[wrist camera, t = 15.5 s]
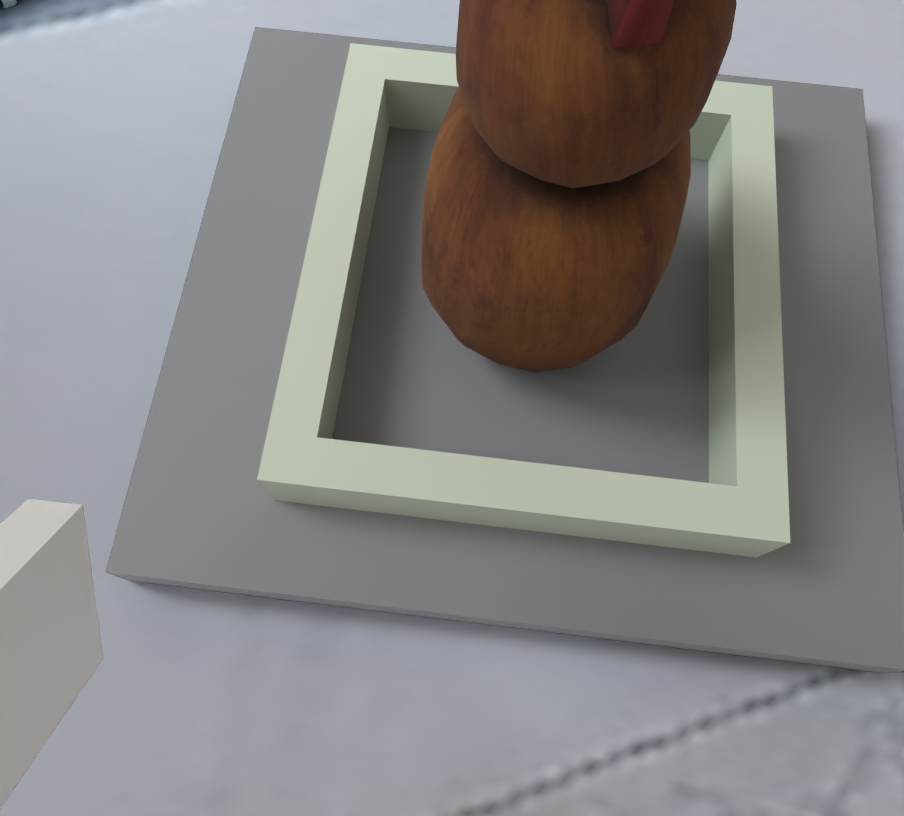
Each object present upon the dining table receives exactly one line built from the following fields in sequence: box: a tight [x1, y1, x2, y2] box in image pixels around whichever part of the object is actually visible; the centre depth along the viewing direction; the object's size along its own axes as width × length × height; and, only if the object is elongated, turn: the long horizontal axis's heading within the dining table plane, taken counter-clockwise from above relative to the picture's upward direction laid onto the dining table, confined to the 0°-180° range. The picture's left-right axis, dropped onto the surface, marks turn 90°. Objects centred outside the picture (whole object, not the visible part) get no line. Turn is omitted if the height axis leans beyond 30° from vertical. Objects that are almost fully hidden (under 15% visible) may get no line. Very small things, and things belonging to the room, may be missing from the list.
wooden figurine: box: [421, 0, 736, 372], centre depth 15 cm, size 7×6×15 cm
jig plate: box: [105, 27, 904, 673], centre depth 22 cm, size 20×18×4 cm
